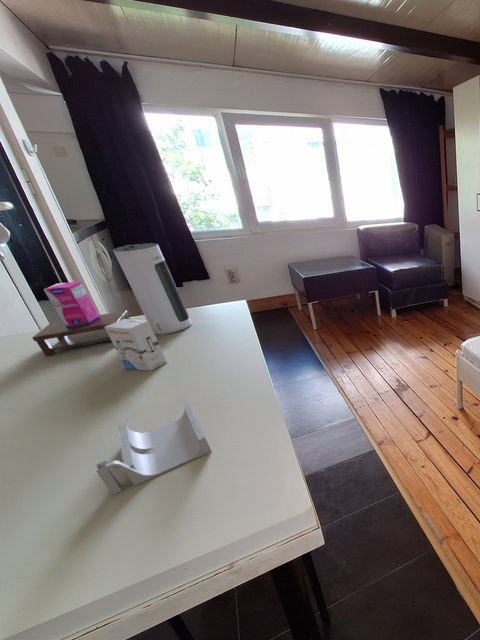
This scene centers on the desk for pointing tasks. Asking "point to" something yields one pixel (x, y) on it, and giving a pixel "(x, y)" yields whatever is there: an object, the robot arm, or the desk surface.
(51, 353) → the rack
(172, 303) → the speaker
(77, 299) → the supplement box
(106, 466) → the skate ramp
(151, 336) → the ink box
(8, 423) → the desk surface
